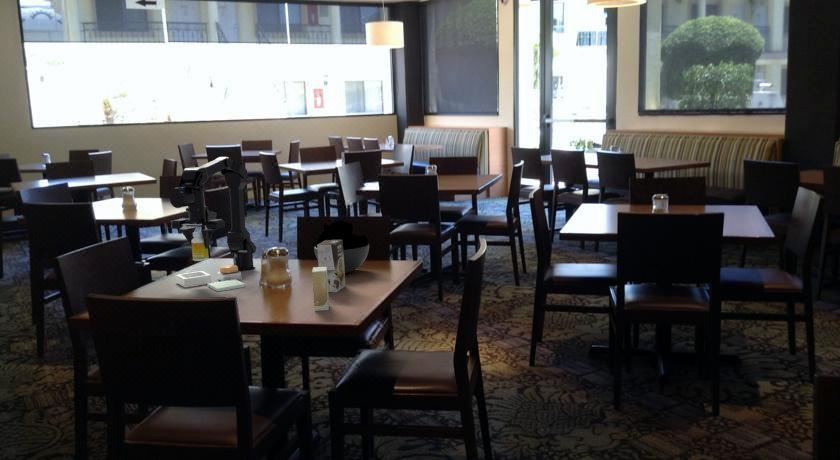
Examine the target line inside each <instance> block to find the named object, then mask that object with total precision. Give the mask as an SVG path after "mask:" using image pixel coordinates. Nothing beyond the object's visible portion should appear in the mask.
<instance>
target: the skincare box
mask: <svg viewBox="0 0 840 460" xmlns="http://www.w3.org/2000/svg"><path fill="white" fill-rule="evenodd" d="M311 273H312V274H311V275H312V292H313V293H312V294H313V306H314V312H317V311H318V312H319V311H323V312H324V311H329V309H330V297H329V296H330V294H329V292H328V276H327V267H318V266H316V267H315V266H313V267H312V270H311Z"/></svg>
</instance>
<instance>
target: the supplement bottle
mask: <svg viewBox="0 0 840 460" xmlns="http://www.w3.org/2000/svg"><path fill="white" fill-rule="evenodd" d="M193 237H194V238H193V239H192V241H191V243H192V247H191V253H192V255H191V256H192V261H195V262H200V261H201V262H202V261H208V260H209V256H210V255H209V248H207V249H206V248H205V245H204V240H203V235H202V231H194V232H193Z"/></svg>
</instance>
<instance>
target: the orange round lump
mask: <svg viewBox="0 0 840 460" xmlns="http://www.w3.org/2000/svg"><path fill="white" fill-rule="evenodd" d="M218 270H219V272H221V273H224V274H231V273H234V272H236V271H239V270H238V266H237V265H234V264H228V265H222V266H219V269H218Z"/></svg>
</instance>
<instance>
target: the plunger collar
mask: <svg viewBox="0 0 840 460" xmlns="http://www.w3.org/2000/svg"><path fill="white" fill-rule="evenodd" d="M216 275H217V276H216V277H217V280H219V282H221V281H227V280H233V279H236V280H238V281H240V280H242V272H241V271H239V270H238V271H236V272H234V273H231V274H224V273H221V272H220V271H217V273H216Z"/></svg>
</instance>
